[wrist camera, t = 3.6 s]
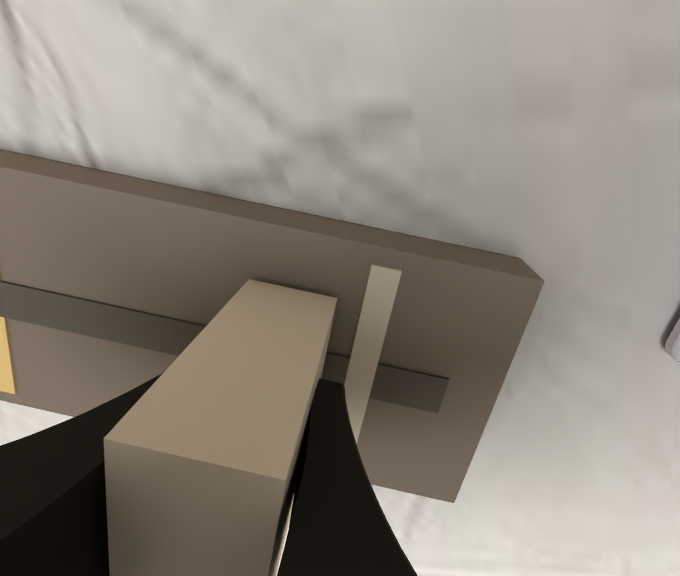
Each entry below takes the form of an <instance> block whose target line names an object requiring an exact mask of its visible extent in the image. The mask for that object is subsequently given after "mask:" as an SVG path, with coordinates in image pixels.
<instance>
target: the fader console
mask: <svg viewBox="0 0 680 576" xmlns="http://www.w3.org/2000/svg"><path fill="white" fill-rule="evenodd" d="M249 279H251V280H255V281H260V282H265V283H269V284H274V285H279V286H283V287H288V288H293V289H297V290H302V291H307V292H311V293H316V294H321V295H325V296H330V297H335V298H337V302H336V307H335V312H334V317H333V322H332V327H331V332H330V337H329V342H328V347H327V352H326V357H325V362H324V367H323V372H322V377H321V379H325V380H330V381H334V382H339V383H342V384H343V386H344V387H345V397H346V404H347V410H348V414H349V419H350V423H351V427H352V431H353V434H354V438H355V441H356V444H357V448H358V451H359V454H360V457H361V460H362V463H363V465H364V468H365V471H366V473H367V476H368V479H369V481H370V484H372V485H377V486H381V487H385V488H390V489H394V490H399V491H403V492H407V493H412V494H416V495H421V496H425V497H430V498H434V499H438V500H443V501H447V502H452V503H454V502H455V499H456V497H457V494H458V492H459V489H460V487H461V485H462V482H463V480H464V477H465V475H466V472H467V470H468V467H469V465H470V463H471V460H472V458H473V455H474V453H475V450H476V448H477V445H478V443H479V440H480V438H481V436H482V433H483V431H484V428H485V426H486V423H487V421H488V418H489V416H490V414H491V411H492V409H493V406H494V404H495V401H496V399H497V396H498V394H499V391H500V389H501V387H502V384H503V382H504V379H505V377H506V374H507V372H508V369H509V367H510V365H511V362H512V360H513V357H514V355H515V352H516V350H517V347H518V345H519V342H520V340H521V338H522V335H523V333H524V330H525V328H526V325H527V323H528V320H529V318H530V316H531V313H532V311H533V308H534V306H535V303H536V301H537V298H538V296H539V293H540V291H541V289H542V286H543V284H544V280H543V279H542V278H541V277H539V276H538V275H537V274H536V273H535V272H534V271H533V270H532V269H531V268H530V267H529V266H528V265H527V264H526V263H525V262H524V261H522V260H521V259H520V258H516V257H511V256H507V255H502V254H497V253H492V252H487V251H483V250H478V249H473V248H468V247H464V246H459V245H454V244H449V243H444V242H440V241H435V240H430V239H425V238H421V237H416V236H411V235H406V234H401V233H397V232H392V231H387V230H382V229H378V228H373V227H368V226H363V225H359V224H354V223H349V222H344V221H339V220H335V219H330V218H325V217H320V216H316V215H311V214H306V213H301V212H296V211H292V210H287V209H282V208H277V207H273V206H268V205H263V204H258V203H253V202H249V201H244V200H239V199H234V198H230V197H225V196H220V195H215V194H211V193H206V192H201V191H196V190H191V189H187V188H182V187H177V186H172V185H168V184H163V183H158V182H153V181H148V180H144V179H139V178H134V177H129V176H125V175H120V174H115V173H110V172H105V171H101V170H96V169H91V168H86V167H82V166H77V165H72V164H67V163H62V162H58V161H53V160H48V159H43V158H39V157H34V156H29V155H24V154H20V153H15V152H10V151H5V150H0V400H2V401H6V402H11V403H15V404H19V405H24V406H28V407H33V408H37V409H42V410H46V411H50V412H55V413H59V414H64V415H68V416H72V417H76V416H78V415H80V414H83V413H85V412H87V411H89V410H91V409H93V408H95V407H97V406H99V405H101V404H103V403H106V402H108V401H110V400H112V399H114V398H116V397H118V396H120V395H122V394H124V393H126V392H128V391H130V390H132V389H134V388H136V387H138V386H139V385H141V384H143V383H145V382H147V381H149V380H150V379H152V378H154V377H156V376H158V375H160V374H162V373H163V372H165V371H166V370H167V369H168V367H169V366H170V365H171V364H172V363H173V362H174V361H175V360H176V359H177V358H178V356H179V355H180V354H181V353H182V352H183V351H184V350H185V349H186V348H187V347H188V346H189V344H190V343H191V342H192V341H193V340H194V339H195V338H196V337H197V336H198V335H199V333H200V332H201V331H202V330H203V329H204V328H205V327H206V326H207V325H208V324H209V323H210V321H211V320H212V319H213V318H214V317H215V316H216V315H217V314H218V313H219V312H220V310H221V309H222V308H223V307H224V306H225V305H226V304H227V303H228V302H229V301H230V300H231V298H232V297H233V296H234V295H235V294H236V293H237V292H238V291H239V290H240V289H241V287H242V286H243V285H244V284H245V283H246V282H247V281H248V280H249Z"/></svg>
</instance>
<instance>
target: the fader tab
mask: <svg viewBox="0 0 680 576" xmlns="http://www.w3.org/2000/svg"><path fill="white" fill-rule="evenodd" d="M336 302H337V298H335V297H330V296H325V295H321V294H316V293H311V292H307V291H302V290H297V289H293V288H288V287H283V286H279V285H274V284H269V283H265V282H260V281H255V280H251V279H249V280H248V281H247V282H246V283H245V284H244V285H243V286H242V287H241V289H240V290H239V291H238V292H237V293H236V294H235V295H234V296H233V297H232V298H231V300H230V301H229V302H228V303H227V304H226V305H225V306H224V307H223V308H222V309H221V310H220V312H219V313H218V314H217V315H216V316H215V317H214V318H213V319H212V320H211V321H210V323H209V324H208V325H207V326H206V327H205V328H204V329H203V330H202V331H201V332H200V333H199V335H198V336H197V337H196V338H195V339H194V340H193V341H192V342H191V343H190V344H189V346H188V347H187V348H186V349H185V350H184V351H183V352H182V353H181V354H180V355H179V356H178V358H177V359H176V360H175V361H174V362H173V363H172V364H171V365H170V366H169V367H168V369H167V370H166V371H165V372H164V373H163V374H162V375H161V376H160V377H159V378H158V379H157V381H156V382H155V383H154V384H153V385H152V386H151V387H150V388H149V389H148V390H147V392H146V393H145V394H144V395H143V396H142V397H141V398H140V399H139V400H138V401H137V402H136V404H135V405H134V406H133V407H132V408H131V409H130V410H129V411H128V412H127V413H126V415H125V416H124V417H123V418H122V419H121V420H120V421H119V422H118V423H117V424H116V425H115V427H114V428H113V429H112V430H111V431H110V432H109V433H108V434H107V435H106V436H105V438H104V459H105V482H106V504H107V526H108V549H109V571H110V576H276V572H277V568H278V564H279V559H280V555H281V551H282V547H283V543H284V539H285V535H286V531H287V527H288V523H289V519H290V515H291V511H292V504H293V498H294V491H295V486H296V481H297V476H298V471H299V466H300V461H301V456H302V451H303V446H304V440H305V435H306V430H307V425H308V420H309V415H310V410H311V405H312V400H313V397H314V394H315V390H316V387H317V384H318V380H319V378H321V377H322V372H323V367H324V362H325V357H326V352H327V347H328V342H329V337H330V332H331V327H332V322H333V317H334V312H335V307H336Z"/></svg>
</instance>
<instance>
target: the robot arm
mask: <svg viewBox="0 0 680 576" xmlns="http://www.w3.org/2000/svg"><path fill="white" fill-rule="evenodd" d="M665 348H666V352H667V353H668V354H669V355H670V356H671V357H672V358H674V359H675V360H676V361H679V362H680V318H679V320H678V322H677V323H676V325H675V327H674V329H673V330H672V332H671V334H670V336H669V337H668V339H667V341H666V345H665ZM163 373H164V372H163ZM163 373H162V374H163ZM162 374H160V375H158V376H156V377H154V378H152V379H150V380H149V381H147V382H145V383H143V384H141V385H139V386H138V387H136V388H134V389H132V390H130V391H128V392H126V393H124V394H122V395H120V396H118V397H116V398H114V399H112V400H110V401H108V402H106V403H103V404H101V405H99V406H97V407H95V408H93V409H91V410H89V411H87V412H85V413H83V414H80V415H78V416H76V417H74V418H71V419H69V420H67V421H64V422H62V423H60V424H57V425H55V426H52V427H50V428H47V429H45V430H42V431H40V432H37V433H35V434H32V435H29V436H27V437H24V438H21V439H19V440H16V441H13V442H10V443H7V444H4V445H1V446H0V576H110V571H109V549H108V526H107V504H106V482H105V459H104V438H105V436H106V435H107V434H108V433H109V432H110V431H111V430H112V429H113V428H114V427H115V425H116V424H117V423H118V422H119V421H120V420H121V419H122V418H123V417H124V416H125V415H126V413H127V412H128V411H129V410H130V409H131V408H132V407H133V406H134V405H135V404H136V402H137V401H138V400H139V399H140V398H141V397H142V396H143V395H144V394H145V393H146V392H147V390H148V389H149V388H150V387H151V386H152V385H153V384H154V383H155V382H156V381H157V379H158V378H159V377H160V376H161V375H162ZM277 576H417V574H416V572H415V571H414V569H413V567H412V565H411V564H410V562H409V560H408V559H407V557H406V555H405V554H404V552H403V550H402V548H401V547H400V545H399V543H398V541H397V539H396V537H395V535H394V533H393V531H392V529H391V527H390V525H389V523H388V521H387V519H386V517H385V515H384V513H383V511H382V509H381V507H380V504H379V502H378V500H377V498H376V496H375V493H374V491H373V488H372V486H371V484H370V481H369V479H368V476H367V473H366V471H365V468H364V465H363V463H362V460H361V457H360V454H359V451H358V448H357V444H356V441H355V438H354V434H353V431H352V427H351V423H350V419H349V414H348V410H347V404H346V397H345V387H344V386H343V384H342V383H339V382H334V381H330V380H325V379H321V378H319V380H318V384H317V387H316V390H315V394H314V397H313V400H312V405H311V410H310V415H309V420H308V425H307V430H306V435H305V440H304V446H303V451H302V456H301V461H300V466H299V471H298V476H297V481H296V486H295V491H294V498H293V504H292V511H291V518H290V525H289V531H288V535H287V539H286V543H285V547H284V551H283V555H282V559H281V563H280V567H279V571H278V575H277Z"/></svg>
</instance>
